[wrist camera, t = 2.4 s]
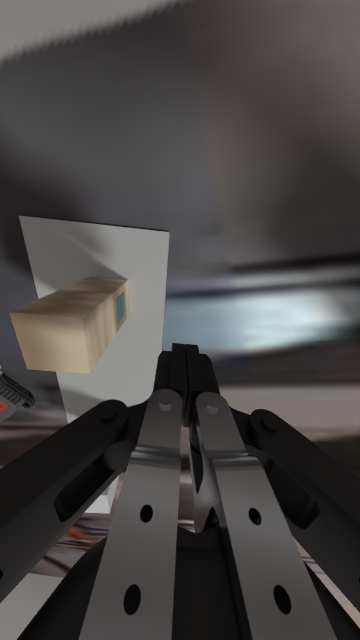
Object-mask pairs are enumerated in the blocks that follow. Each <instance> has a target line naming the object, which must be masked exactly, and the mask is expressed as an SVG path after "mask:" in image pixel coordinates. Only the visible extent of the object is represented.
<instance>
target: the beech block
mask: <svg viewBox="0 0 360 640" xmlns="http://www.w3.org/2000/svg"><path fill="white" fill-rule="evenodd" d="M9 313H10V316H11V319H12V322H13V326H14V329H15V332H16V335H17V338H18V341H19V344H20V347H21V351H22V354H23V357H24V360H25V363H26V366H27V369H32V370H46V371H59V372H72V373H86V374H91V372H92V371H93V369H94V368H95V366H96V364H97V363H98V361H99V360H100V358H101V357H102V355H103V354H104V352H105V351H106V349H107V348H108V346H109V344H110V343H111V341H112V340H113V338H114V337H115V335H116V334H117V332H118V331H119V329H120V328H121V326H122V324H123V323H124V321H125V320H126V318H127V317H128V315H129V284H128V280H124V279H114V278H104V277H93V276H90V277H87V278H85V279H83V280H81V281H78V282H76V283H74V284H71V285H69V286H67V287H65V288H62V289H60V290H58V291H56V292H53V293H51V294H49V295H47V296H44V297H42V298H40V299H38V300H35V301H33V302H31V303H28V304H26V305H24V306H22V307H19V308H17V309H15V310H13V311H10V312H9Z"/></svg>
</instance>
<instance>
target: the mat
mask: <svg viewBox="0 0 360 640" xmlns="http://www.w3.org/2000/svg"><path fill="white" fill-rule="evenodd" d="M19 219H20V223H21V227H22V232H23V236H24V240H25V244H26V248H27V253H28V257H29V261H30V265H31V269H32V274H33V278H34V282H35V286H36V290H37V295H38V299H40V298H42V297H44V296H47V295H49V294H51V293H53V292H56V291H58V290H60V289H62V288H65V287H67V286H69V285H71V284H74V283H76V282H78V281H81V280H83V279H85V278H87V277H90V276H93V277H104V278H114V279H124V280H128V284H129V315H128V317H127V318H126V320H125V321H124V323H123V324H122V326H121V328H120V329H119V331H118V332H117V334H116V335H115V337H114V338H113V340H112V341H111V343H110V344H109V346H108V348H107V349H106V351H105V352H104V354H103V355H102V357H101V358H100V360H99V361H98V363H97V364H96V366H95V368H94V369H93V371H92V372H91V374H86V373H72V372H59V371H56V374H57V378H58V383H59V387H60V391H61V395H62V399H63V404H64V408H65V412H66V416H67V420H68V424H69V423H70V422H72V421H73V420H75V419H76V418H78V417H79V416H81V415H82V414H84V413H85V412H87V411H88V410H90V409H91V408H93V407H94V406H96V405H97V404H99V403H101V402H103V401H106V400H110V399H116V400H120V401H122V402H124V403H125V404H126V406H127V407H128V406H133V405H137V404H140V403H142V402H144V401H146V400H147V399H148V398H149V397H150V396H151V394H152V392H153V387H154V380H155V374H156V368H157V361H158V356H159V355H160V353H161V350H162V335H163V321H164V306H165V291H166V277H167V262H168V247H169V233H170V232H163V231H154V230H145V229H136V228H127V227H118V226H109V225H100V224H91V223H82V222H73V221H64V220H54V219H45V218H36V217H27V216H19Z"/></svg>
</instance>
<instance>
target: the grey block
mask: <svg viewBox="0 0 360 640" xmlns="http://www.w3.org/2000/svg"><path fill="white" fill-rule="evenodd" d="M118 478H119V476H118V477H117V478H116V479H115V480H114V481H113V482H112V483H111V484H110V485H109V486H108V487H107V489H106V490H105V491H104V492H103V493H102V494H101V495H100V496H99V497H98V498H97V499H96V500H95V501H94V503H93V504H92V505H91V506H90V507H89V508H88V509H87V510H86V511H85V512H87V513H110V510H111V506H112V502H113V498H114V494H115V490H116V486H117V482H118Z"/></svg>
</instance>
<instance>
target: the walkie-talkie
mask: <svg viewBox="0 0 360 640" xmlns="http://www.w3.org/2000/svg"><path fill="white" fill-rule="evenodd" d="M34 404H35V401H34V400H33V399H32V398H31V397H30V394H29V391H26V389H23V387H20V386H19V385H18V384H16V383H15V382H13V380H10V379H9V378H7V377H6V376H5V375H3V372H2V368H1V366H0V422H2V421H3V420H5V419H6V418H7V417H9V416H10V415H12V414H13V413H14V412H16V411H17V410H18V409H19V408H20V406H22V407H24V408H31V407H32V406H33V405H34Z"/></svg>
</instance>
